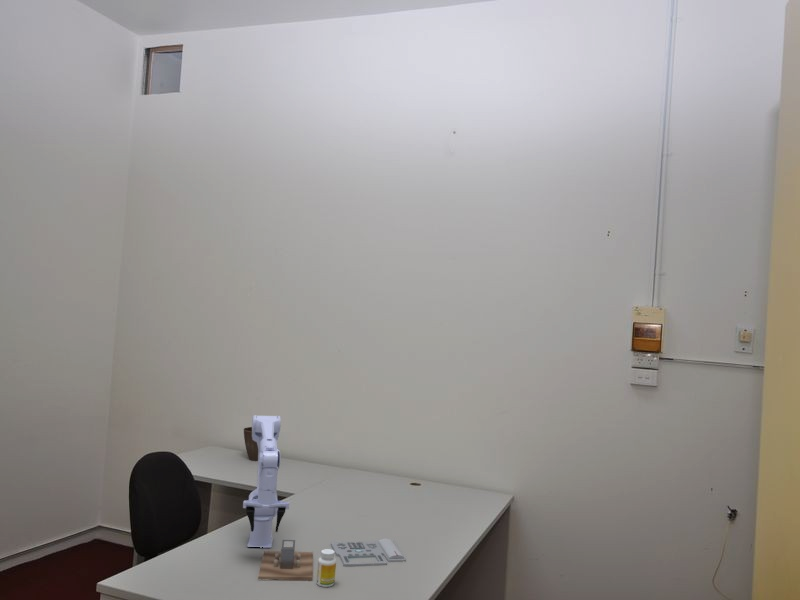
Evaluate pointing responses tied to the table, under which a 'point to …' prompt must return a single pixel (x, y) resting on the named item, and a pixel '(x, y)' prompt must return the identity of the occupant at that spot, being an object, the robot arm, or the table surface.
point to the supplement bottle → (326, 568)
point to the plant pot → (250, 444)
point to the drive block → (287, 554)
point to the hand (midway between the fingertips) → (264, 530)
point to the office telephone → (368, 552)
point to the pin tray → (273, 571)
